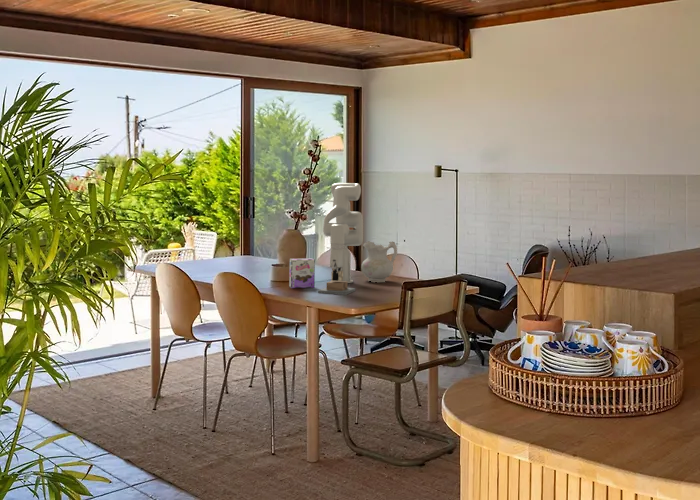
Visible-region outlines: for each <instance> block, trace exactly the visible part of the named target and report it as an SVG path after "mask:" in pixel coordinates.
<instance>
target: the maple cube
mask: <svg viewBox="0 0 700 500" xmlns="http://www.w3.org/2000/svg"><path fill="white" fill-rule="evenodd" d="M330 275H331V277H330V278H331V280H330V281H336V280H333V273H332V271H331V274H330ZM342 280H343V271H338V281H342Z"/></svg>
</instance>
